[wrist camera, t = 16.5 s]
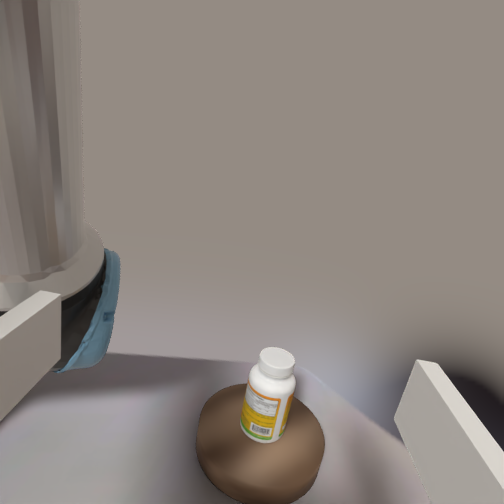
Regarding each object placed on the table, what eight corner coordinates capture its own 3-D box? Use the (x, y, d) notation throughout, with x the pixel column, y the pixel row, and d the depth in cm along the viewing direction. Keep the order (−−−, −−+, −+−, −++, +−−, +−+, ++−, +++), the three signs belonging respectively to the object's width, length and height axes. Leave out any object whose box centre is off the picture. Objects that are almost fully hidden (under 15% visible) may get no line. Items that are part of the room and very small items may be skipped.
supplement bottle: (268, 405, 45) (284, 340, 42) (292, 437, 41) (311, 367, 38) (231, 415, 43) (245, 346, 40) (253, 450, 38) (270, 376, 35)
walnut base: (172, 429, 43) (174, 409, 42) (260, 387, 53) (264, 371, 52) (252, 538, 33) (258, 515, 32) (343, 461, 43) (349, 442, 42)
